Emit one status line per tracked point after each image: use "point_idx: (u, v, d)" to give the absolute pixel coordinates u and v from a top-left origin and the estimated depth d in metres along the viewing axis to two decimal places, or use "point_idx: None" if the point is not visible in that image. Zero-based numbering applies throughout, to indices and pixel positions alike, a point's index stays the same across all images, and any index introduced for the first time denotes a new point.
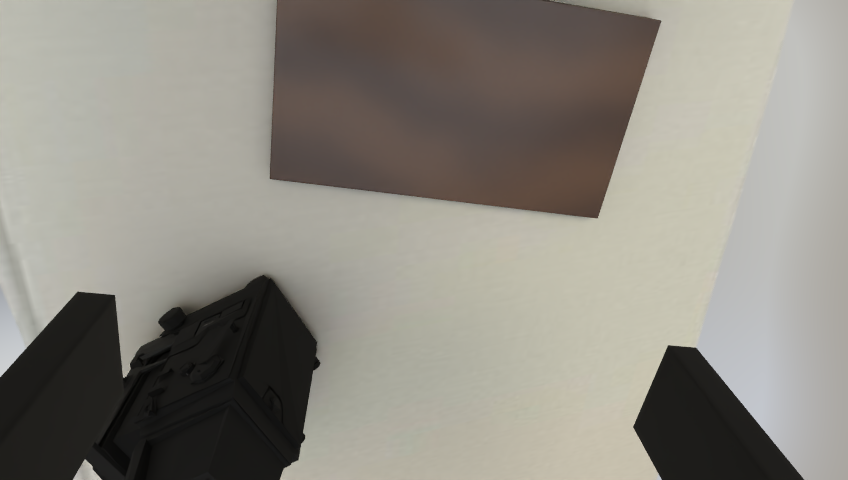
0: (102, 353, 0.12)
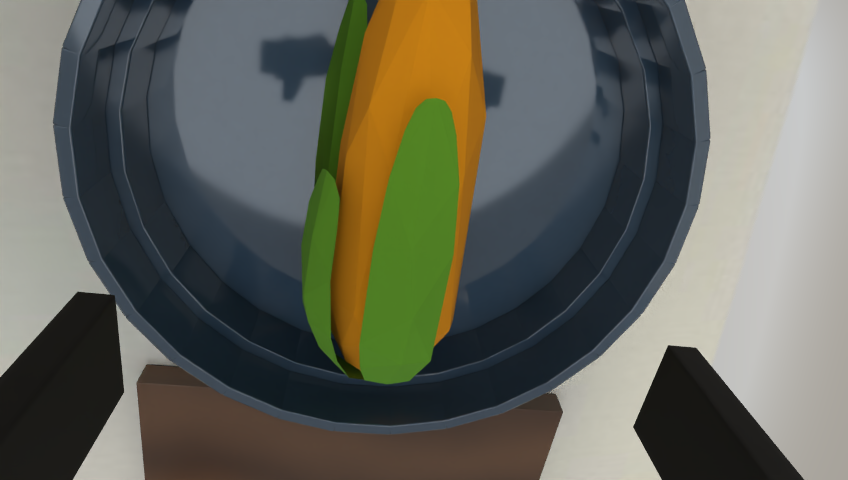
0: (102, 353, 0.12)
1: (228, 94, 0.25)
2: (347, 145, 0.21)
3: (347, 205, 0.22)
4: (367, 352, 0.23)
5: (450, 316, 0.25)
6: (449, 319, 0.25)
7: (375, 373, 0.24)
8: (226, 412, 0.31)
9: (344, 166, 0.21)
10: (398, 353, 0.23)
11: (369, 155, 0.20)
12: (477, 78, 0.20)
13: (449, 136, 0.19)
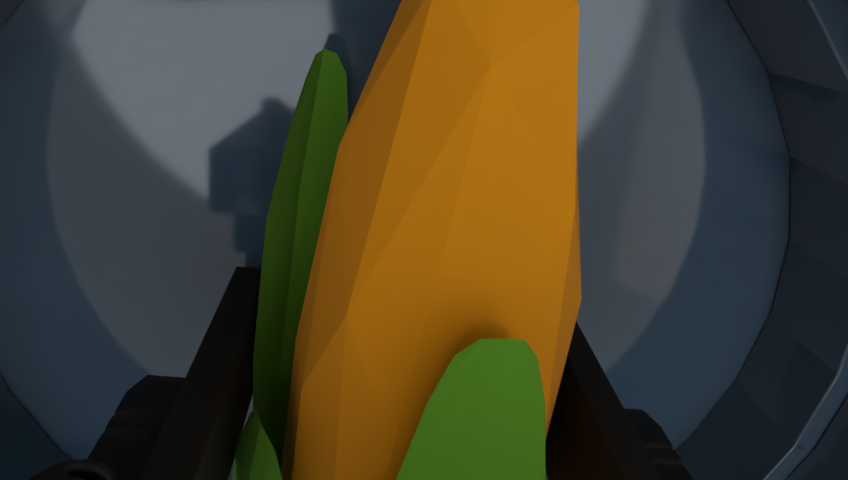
0: None
1: (101, 224, 0.14)
2: (304, 368, 0.10)
3: (305, 476, 0.11)
4: None
5: None
6: None
7: None
8: None
9: (299, 405, 0.11)
10: None
11: (347, 407, 0.10)
12: (577, 246, 0.10)
13: (530, 409, 0.08)
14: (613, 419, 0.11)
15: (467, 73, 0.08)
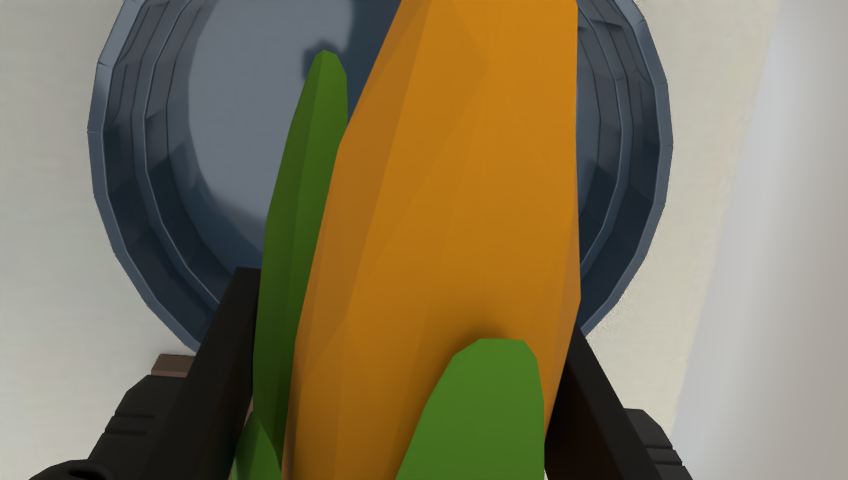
0: None
1: (240, 103, 0.27)
2: (304, 368, 0.10)
3: (305, 476, 0.11)
4: None
5: None
6: None
7: None
8: None
9: (299, 405, 0.11)
10: None
11: (346, 407, 0.10)
12: (576, 246, 0.10)
13: (529, 409, 0.08)
14: (613, 419, 0.11)
15: (467, 74, 0.08)
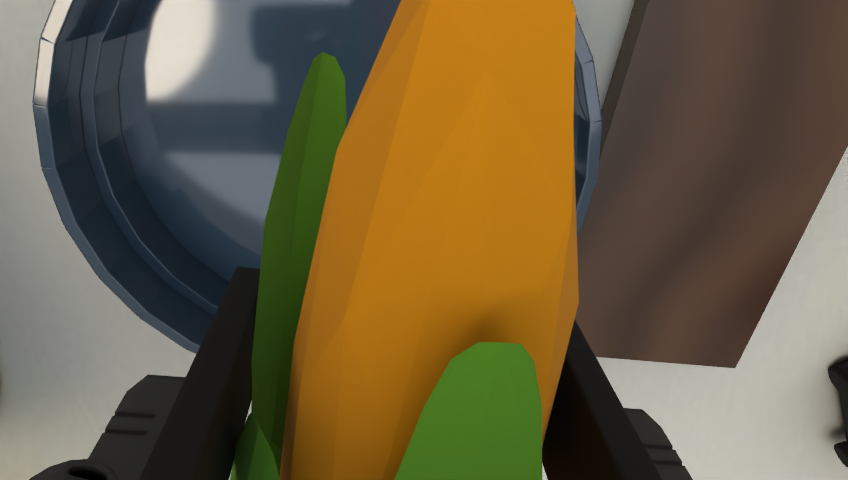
0: None
1: None
2: (302, 370, 0.10)
3: (303, 479, 0.11)
4: None
5: None
6: None
7: None
8: (584, 293, 0.34)
9: (298, 408, 0.11)
10: None
11: (344, 409, 0.10)
12: (574, 249, 0.10)
13: (526, 412, 0.08)
14: (612, 419, 0.11)
15: (464, 77, 0.08)
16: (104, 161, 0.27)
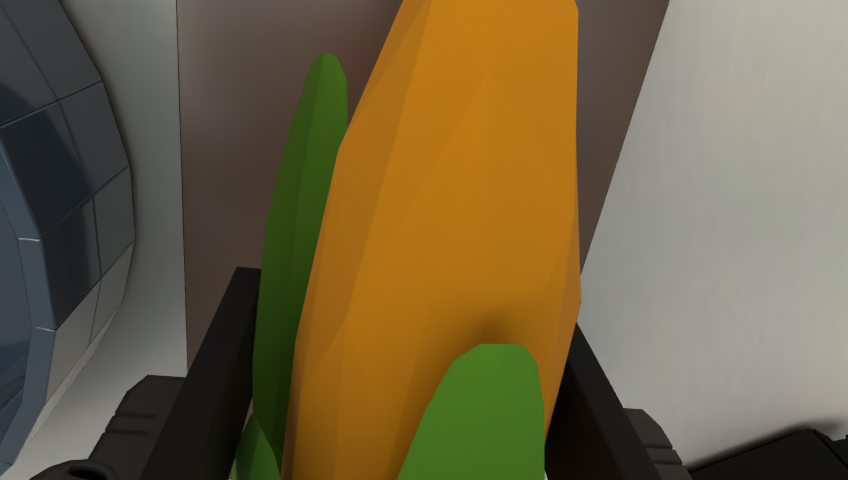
0: None
1: None
2: (304, 371, 0.10)
3: None
4: None
5: None
6: None
7: None
8: None
9: (299, 409, 0.11)
10: None
11: (346, 411, 0.10)
12: (577, 250, 0.10)
13: (529, 414, 0.08)
14: (612, 419, 0.11)
15: (467, 78, 0.08)
16: None
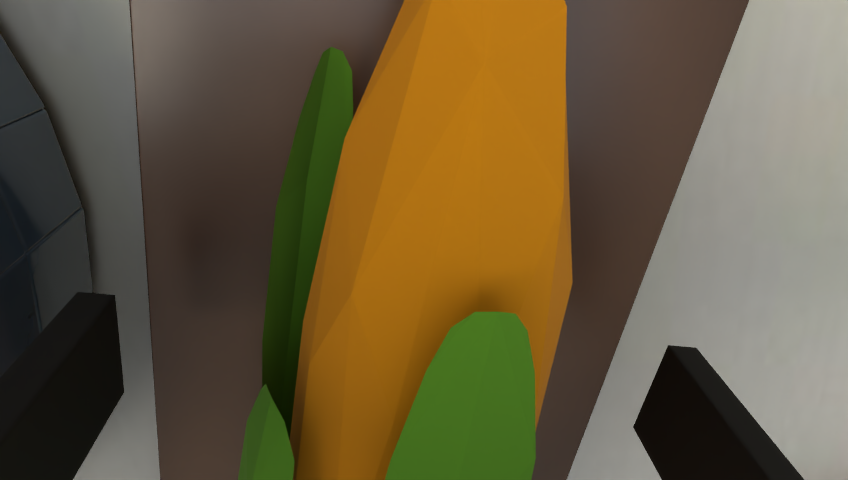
0: (102, 353, 0.12)
1: None
2: (312, 345, 0.11)
3: (312, 449, 0.12)
4: None
5: None
6: None
7: None
8: (212, 469, 0.19)
9: (307, 381, 0.11)
10: None
11: (351, 381, 0.10)
12: (567, 231, 0.10)
13: (521, 378, 0.09)
14: None
15: (464, 68, 0.08)
16: None
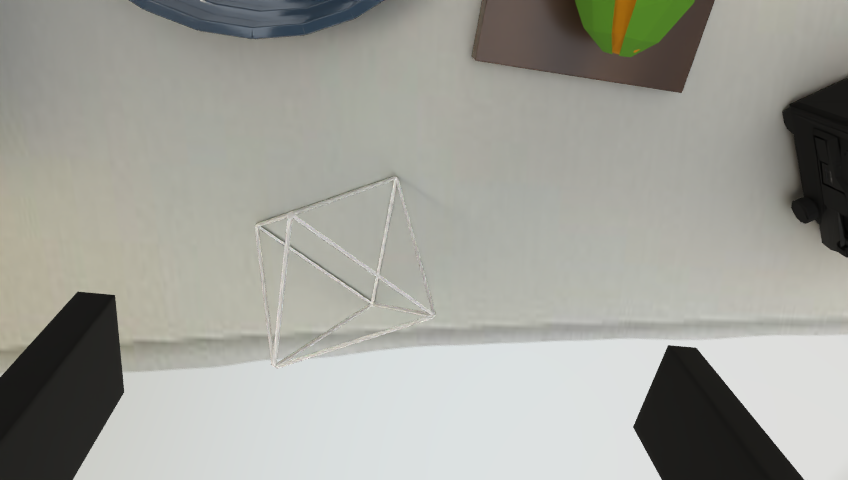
0: (102, 353, 0.12)
1: None
2: None
3: None
4: None
5: None
6: None
7: (642, 19, 0.29)
8: None
9: None
10: None
11: None
12: None
13: None
14: None
15: None
16: None
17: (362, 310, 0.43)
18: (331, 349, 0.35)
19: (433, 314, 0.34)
